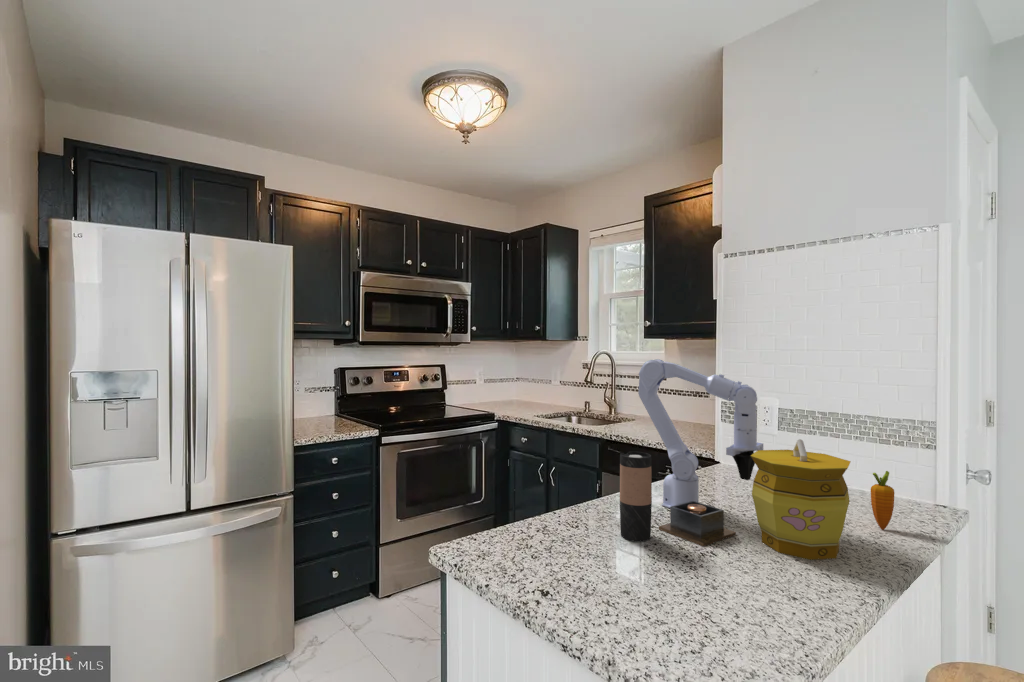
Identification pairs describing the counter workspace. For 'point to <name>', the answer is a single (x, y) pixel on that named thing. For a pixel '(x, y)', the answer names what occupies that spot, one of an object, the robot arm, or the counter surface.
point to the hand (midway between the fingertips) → (745, 479)
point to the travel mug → (635, 496)
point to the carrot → (882, 501)
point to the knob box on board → (697, 524)
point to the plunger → (696, 508)
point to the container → (800, 501)
